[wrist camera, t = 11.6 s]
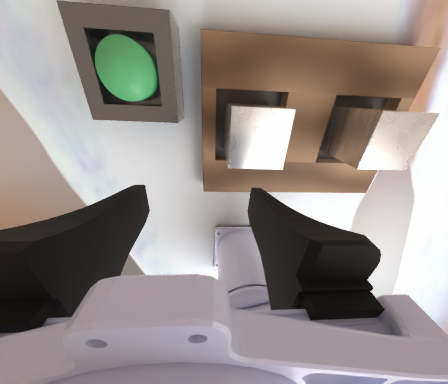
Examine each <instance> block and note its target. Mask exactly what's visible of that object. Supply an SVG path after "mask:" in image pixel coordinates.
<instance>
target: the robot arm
mask: <svg viewBox="0 0 448 384" xmlns="http://www.w3.org/2000/svg"><path fill="white" fill-rule="evenodd" d="M149 211H150V210H149V205H148V199H147V194H146V189H145V185H133V186H131V187H128V188H126V189H124V190H122V191H120V192H118V193H116V194H114V195H112V196H110V197H108V198H105V199H103V200H101V201H99V202H96V203H94V204H92V205H89V206H87V207H84V208H82V209H79V210H76V211H73V212H70V213H67V214H64V215H60V216H57V217H54V218H50V219H47V220H43V221H39V222H35V223H31V224H27V225H23V226H18V227H13V228H9V229H3V230H0V384H448V335H447V334H446V333H445V332H444V331H443V330H442V329H441V328H440V327H439V326H438V325H437V324H436V323H435V322H434V321H433V320H432V319H431V318H430V317H429V316H428V315H427V314H426V313H425V312H424V311H423V310H422V309H421V308H420V307H419V306H418V305H417V304H416V303H415V302H414V301H413V300H412V299H411V298H410V297H409V296H408V295H384V296H380V297H377V298H375V296H374V295H373V294H372V293H371V292H370V291H371V290H372V289H373V286H372V285H371V284H370V283H369V282H368V281H367V279H368V278H369V277H370V275H371V274H372V272H373V271H374V270H375V268H376V267H377V265H378V264H379V262H380V257H381V253H380V250H379V249H378V248H377V247H376V246H375V245H374V244H373V243H372V242H371V241H370V240H369V239H368V238H367V237H366V236H364V235H361V234H358V233H354V232H350V231H346V230H342V229H339V228H336V227H333V226H330V225H327V224H324V223H321V222H319V221H316V220H314V219H311V218H309V217H307V216H305V215H303V214H301V213H299V212H297V211H295V210H293V209H291V208H290V207H288V206H286V205H285V204H283V203H282V202H280V201H279V200H277V199H276V198H274V197H273V196H271V195H270V194H269V193H267V192H266V191H264V190H263V189H261V188H251V193H250V199H249V206H248V216H249V222H250V225H251V227H217V228H215V255H214V270H215V271H218V280H217V279H215V278H213V277H211V276H205V275H198V274H186V275H132V276H120V275H121V272H122V270H123V267H124V264H125V262H126V260H127V257H128V255H129V253H130V251H131V249H132V247H133V245H134V243H135V241H136V240H137V238H138V236H139V234H140V232H141V230H142V228H143V226H144V224H145V222H146V220H147V217H148V214H149ZM218 232H219V233H218Z"/></svg>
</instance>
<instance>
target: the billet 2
mask: <svg viewBox="0 0 448 384" xmlns="http://www.w3.org/2000/svg"><path fill="white" fill-rule="evenodd" d="M438 115H439V114H438V113H425V112H413V111H400V110H388V109H375V108H356V107H335V106H333V108H332V111H331V114H330V117H329V121H328V124H327V127H326V130H325V133H324V136H323V140H322V143H321V146H320V149H319V150H320V151H322V152H324V153H326V154H328V155H330V156H332V157H334V158H336V159H338V160H340V161H342V162H344V163H346V164H348V165H350V166H352V167H354V168H356V169H371V170H406V169H407V167H408V165H409V164H410V162H411V160H412V159H413V157H414V155H415V154H416V152H417V150H418V149H419V147H420V145H421V144H422V142H423V140H424V139H425V137H426V135H427V134H428V132H429V130H430V129H431V127H432V125H433V124H434V122H435V120H436V119H437V117H438Z"/></svg>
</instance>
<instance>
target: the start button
mask: <svg viewBox="0 0 448 384" xmlns="http://www.w3.org/2000/svg"><path fill="white" fill-rule="evenodd" d="M95 65H96V70H97V73H98V75H99V78H100V79H101V81H102V83H103V84H104V86H105V87H106V88H107V89H108V90H109V91H110V92H111V93H112V94H113V95H115V96H116V97H118V98H120V99H123V100H126V101H144V100H150V99H152V98H154V97H155V96H157V95H158V93H159V92H160V83H159V74H158V66H157V60H156V58H155V57H154V56H153V55H152V54H151V53H150V52H149V51H148V50H147V49H145V48H144V47H142V46H141V45H139V44H138V43H137V42H135V41H134V40H132V39H131V38H129V37H126V36H123V35H118V34H114V35H109V36H107V37H105V38H104V39H102V40H101V41H100V43H99V44H98V46H97V49H96V52H95Z"/></svg>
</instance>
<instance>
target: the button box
mask: <svg viewBox="0 0 448 384" xmlns="http://www.w3.org/2000/svg"><path fill="white" fill-rule="evenodd" d="M57 3H58V7H59V10H60V13H61V16H62V20H63V23H64V26H65V30H66V33H67V36H68V39H69V43H70V46H71V49H72V52H73V56H74V59H75V62H76V66H77V69H78V72H79V75H80V79H81V82H82V85H83V88H84V92H85V95H86V98H87V102H88V105H89V108H90V111H91V115H92V118H93V120H119V121H145V122H171V123H179V122H180V121H181V120H182V119H184V109H183V93H182V78H181V62H180V47H179V31H178V27H177V25H176V23H175V21H174V19H173V17H172V15H171V13H170V11H169V10H161V9H150V8H138V7H126V6H115V5H103V4H91V3H80V2H68V1H57ZM114 34H118V35H123V36H126V37H129V38H131V39H132V40H134V41H135V42H137V43H138V44H139V45H141V46H142V47H144V48H145V49H147V50H148V51H149V52H150V53H151V54H152V55H153V56H154V57H155V58H156V60H157V66H158V74H159V83H160V92H159V93H158V95H157V96H155V97H154V98H152V99H150V100H144V101H126V100H123V99H120V98H118V97H116V96H115V95H113V94H112V93H111V92H110V91H109V90H108V89H107V88H106V87H105V86H104V84H103V83H102V81H101V79H100V78H99V75H98V73H97V70H96V65H95V52H96V49H97V46H98V44H99V43H100V41H101V40H102V39H104V38H105V37H107V36H109V35H114Z"/></svg>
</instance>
